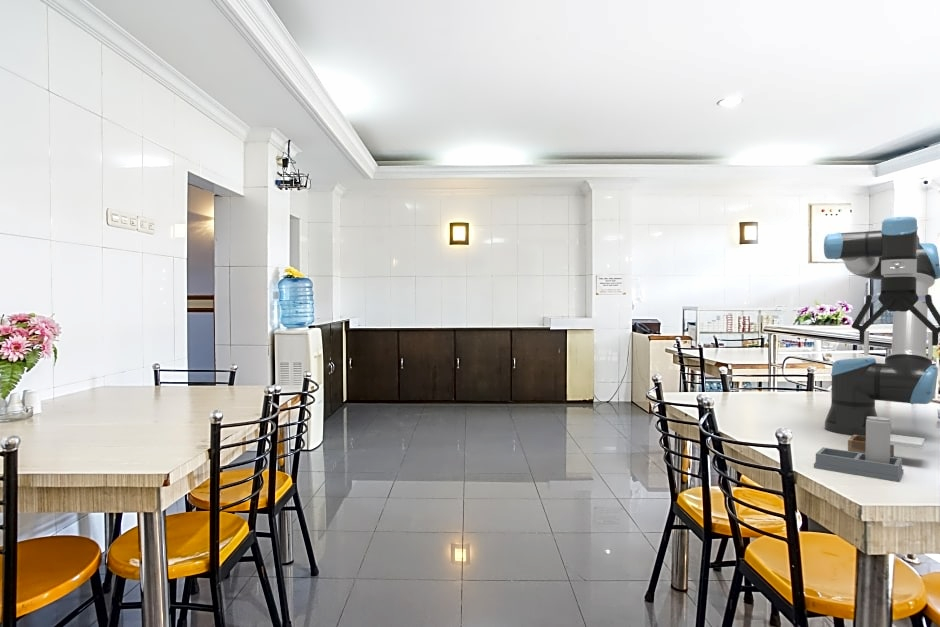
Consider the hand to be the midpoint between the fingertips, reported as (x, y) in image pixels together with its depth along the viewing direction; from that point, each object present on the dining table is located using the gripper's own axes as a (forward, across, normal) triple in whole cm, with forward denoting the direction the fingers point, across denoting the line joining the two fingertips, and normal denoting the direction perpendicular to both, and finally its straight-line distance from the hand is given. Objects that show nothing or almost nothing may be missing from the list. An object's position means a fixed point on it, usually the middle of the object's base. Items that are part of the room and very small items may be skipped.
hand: (897, 356), depth 152 cm
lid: (+22, +1, -5) cm, 22 cm away
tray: (+26, -5, -5) cm, 27 cm away
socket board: (+26, -6, -22) cm, 35 cm away
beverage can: (+25, -2, -22) cm, 34 cm away
